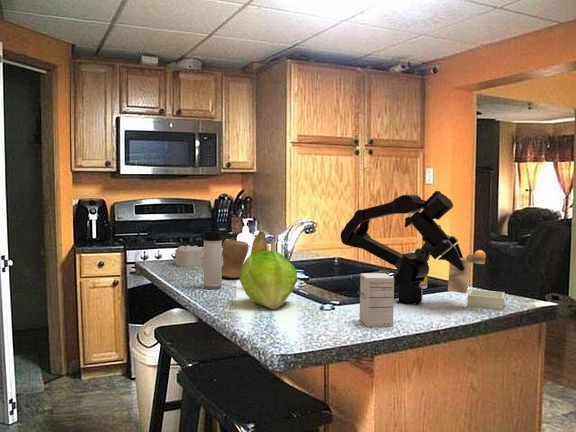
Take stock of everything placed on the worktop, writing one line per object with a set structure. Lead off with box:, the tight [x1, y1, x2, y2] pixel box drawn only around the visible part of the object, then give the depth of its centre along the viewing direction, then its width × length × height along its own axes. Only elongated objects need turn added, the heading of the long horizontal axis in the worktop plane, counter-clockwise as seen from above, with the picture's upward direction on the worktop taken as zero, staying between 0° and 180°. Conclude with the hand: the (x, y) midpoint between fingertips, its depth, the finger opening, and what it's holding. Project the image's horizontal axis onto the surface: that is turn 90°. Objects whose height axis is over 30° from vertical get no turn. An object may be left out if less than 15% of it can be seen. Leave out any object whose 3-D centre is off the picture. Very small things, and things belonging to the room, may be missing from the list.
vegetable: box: [250, 231, 268, 255], centre depth 183 cm, size 6×6×20 cm
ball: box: [473, 249, 487, 259], centre depth 153 cm, size 3×3×3 cm
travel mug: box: [203, 231, 223, 290], centre depth 184 cm, size 6×7×20 cm
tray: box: [466, 289, 506, 311], centre depth 160 cm, size 10×10×4 cm
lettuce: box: [239, 250, 298, 310], centre depth 158 cm, size 17×20×16 cm
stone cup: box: [222, 238, 249, 279], centre depth 207 cm, size 15×12×15 cm
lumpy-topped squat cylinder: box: [175, 244, 203, 268], centre depth 239 cm, size 10×13×9 cm
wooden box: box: [447, 254, 486, 294], centre depth 155 cm, size 9×5×11 cm, turn 66°
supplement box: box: [359, 272, 395, 328], centre depth 137 cm, size 7×7×13 cm
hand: (464, 269), depth 155 cm, fingers closed on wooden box, 5 cm apart
